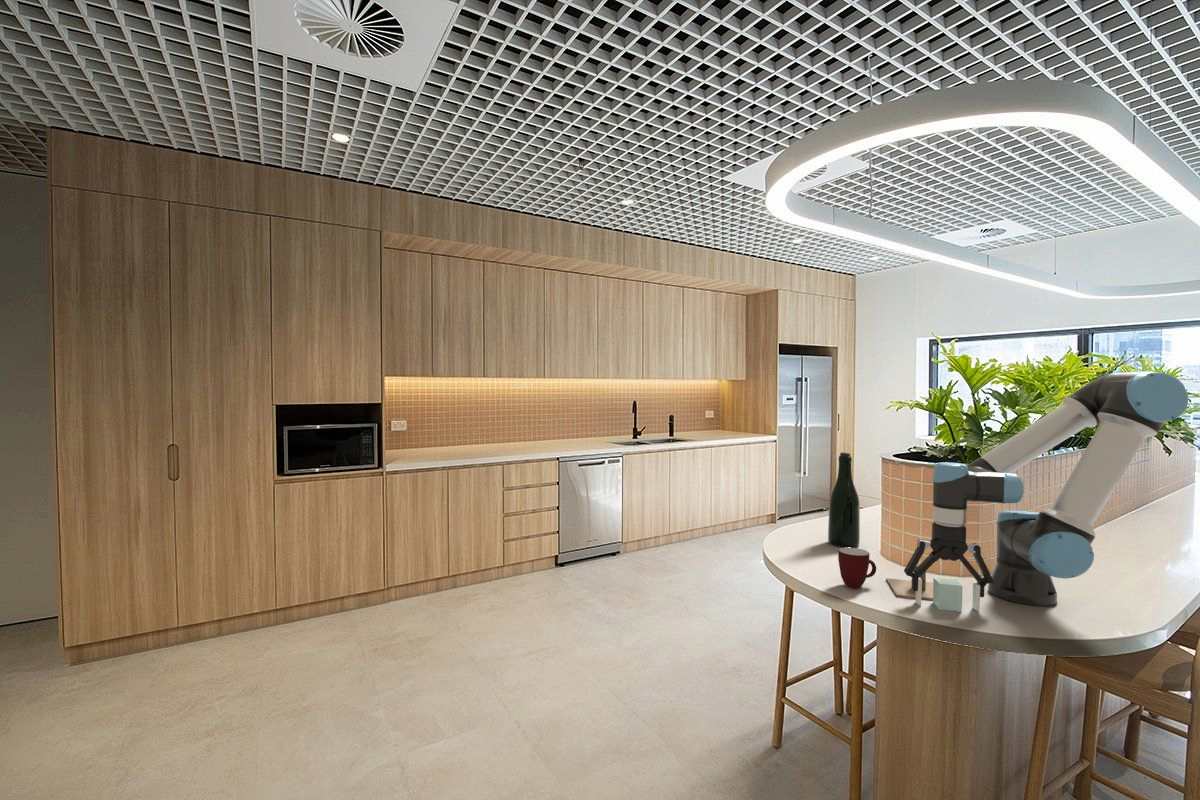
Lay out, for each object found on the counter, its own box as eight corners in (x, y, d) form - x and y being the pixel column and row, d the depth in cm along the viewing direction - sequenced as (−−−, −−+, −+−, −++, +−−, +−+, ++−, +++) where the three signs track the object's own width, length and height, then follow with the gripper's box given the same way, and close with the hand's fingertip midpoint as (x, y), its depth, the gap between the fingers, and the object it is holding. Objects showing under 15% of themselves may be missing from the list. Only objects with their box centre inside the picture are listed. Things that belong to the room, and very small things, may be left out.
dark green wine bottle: (822, 540, 213) (824, 450, 212) (849, 540, 214) (851, 450, 213) (837, 548, 202) (838, 454, 201) (865, 548, 203) (867, 454, 203)
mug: (863, 580, 169) (864, 546, 169) (883, 589, 162) (883, 554, 161) (831, 582, 167) (832, 548, 167) (849, 592, 159) (850, 556, 159)
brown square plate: (939, 585, 166) (940, 560, 166) (955, 602, 152) (956, 575, 152) (886, 580, 170) (886, 555, 169) (896, 596, 156) (897, 570, 156)
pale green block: (955, 604, 151) (955, 579, 151) (961, 611, 146) (962, 585, 146) (933, 602, 152) (933, 577, 152) (938, 609, 147) (939, 583, 147)
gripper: (998, 523, 149) (996, 606, 149) (893, 516, 156) (891, 595, 156) (1010, 530, 142) (1007, 617, 142) (899, 523, 148) (897, 605, 149)
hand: (946, 606), depth 149 cm, fingers open, 12 cm apart
